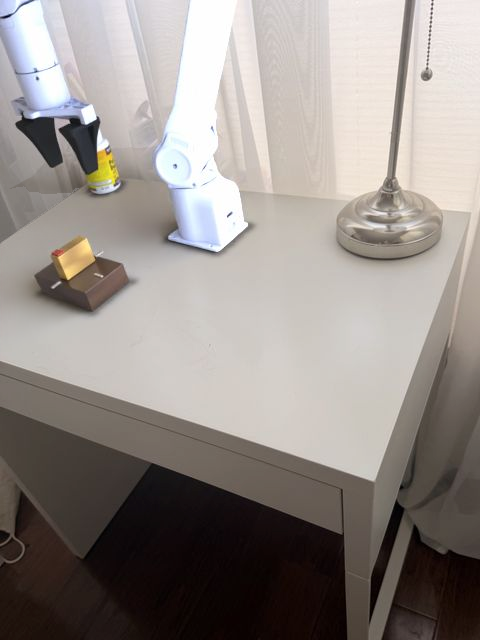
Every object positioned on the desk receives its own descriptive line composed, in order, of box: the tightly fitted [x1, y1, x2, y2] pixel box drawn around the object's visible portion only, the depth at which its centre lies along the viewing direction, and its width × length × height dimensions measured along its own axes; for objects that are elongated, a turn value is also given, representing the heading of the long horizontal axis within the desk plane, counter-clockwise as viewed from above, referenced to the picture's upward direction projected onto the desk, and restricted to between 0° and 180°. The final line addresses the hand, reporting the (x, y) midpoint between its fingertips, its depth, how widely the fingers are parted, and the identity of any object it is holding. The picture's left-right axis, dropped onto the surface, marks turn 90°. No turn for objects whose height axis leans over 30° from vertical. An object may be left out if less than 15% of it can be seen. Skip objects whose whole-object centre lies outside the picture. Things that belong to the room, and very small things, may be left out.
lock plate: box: [33, 250, 130, 312], centre depth 73 cm, size 10×9×3 cm
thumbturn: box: [49, 235, 95, 280], centre depth 71 cm, size 5×2×4 cm, turn 147°
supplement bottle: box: [84, 128, 121, 195], centre depth 94 cm, size 6×6×10 cm
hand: (74, 168), depth 79 cm, fingers open, 7 cm apart
